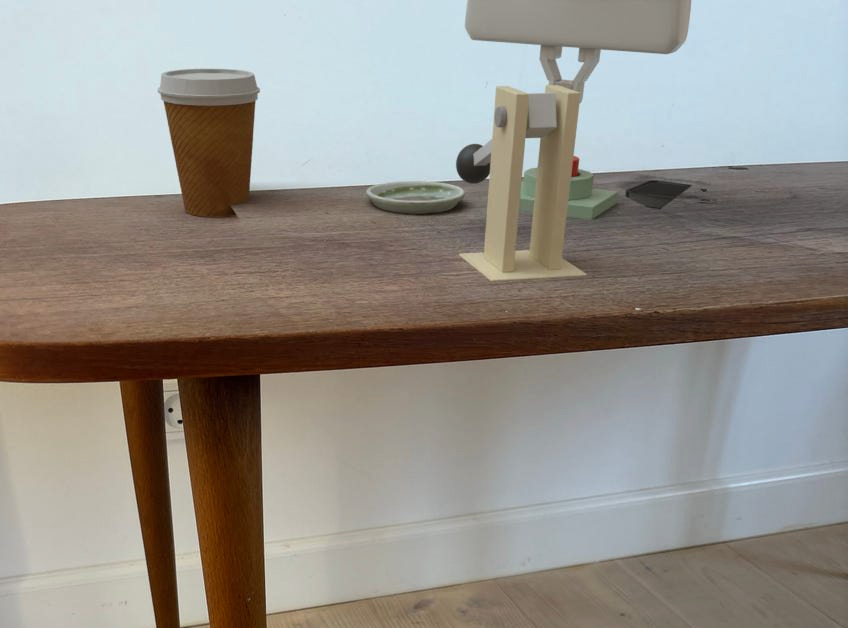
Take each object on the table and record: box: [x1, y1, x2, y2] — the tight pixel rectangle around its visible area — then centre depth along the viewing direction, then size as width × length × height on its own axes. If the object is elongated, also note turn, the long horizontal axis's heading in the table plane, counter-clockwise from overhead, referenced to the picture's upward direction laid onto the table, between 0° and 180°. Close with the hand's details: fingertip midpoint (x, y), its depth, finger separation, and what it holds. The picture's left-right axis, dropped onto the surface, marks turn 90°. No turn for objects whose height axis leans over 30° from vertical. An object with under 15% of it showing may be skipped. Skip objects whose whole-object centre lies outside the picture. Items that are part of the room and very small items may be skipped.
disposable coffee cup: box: [157, 68, 261, 218], centre depth 101 cm, size 10×10×12 cm
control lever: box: [455, 92, 557, 185], centre depth 86 cm, size 17×3×3 cm, turn 14°
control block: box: [519, 167, 619, 220], centre depth 103 cm, size 10×8×4 cm
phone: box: [624, 179, 693, 209], centre depth 108 cm, size 8×1×15 cm
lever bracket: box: [458, 84, 588, 283], centre depth 82 cm, size 8×8×14 cm
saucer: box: [365, 180, 466, 215], centre depth 103 cm, size 10×10×2 cm
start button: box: [571, 155, 580, 177], centre depth 102 cm, size 4×4×2 cm
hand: (564, 102), depth 99 cm, fingers closed
